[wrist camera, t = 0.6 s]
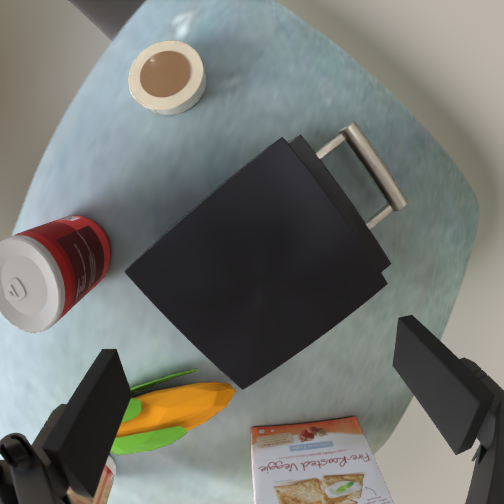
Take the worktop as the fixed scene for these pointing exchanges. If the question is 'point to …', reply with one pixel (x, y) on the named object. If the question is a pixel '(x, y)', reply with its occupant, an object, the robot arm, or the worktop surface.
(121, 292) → the worktop surface
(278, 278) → the box
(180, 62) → the cream cylinder brown top
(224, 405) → the corn
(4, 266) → the canned food
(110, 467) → the fruit juice
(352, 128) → the black pull-out drawer
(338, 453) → the cracker box
